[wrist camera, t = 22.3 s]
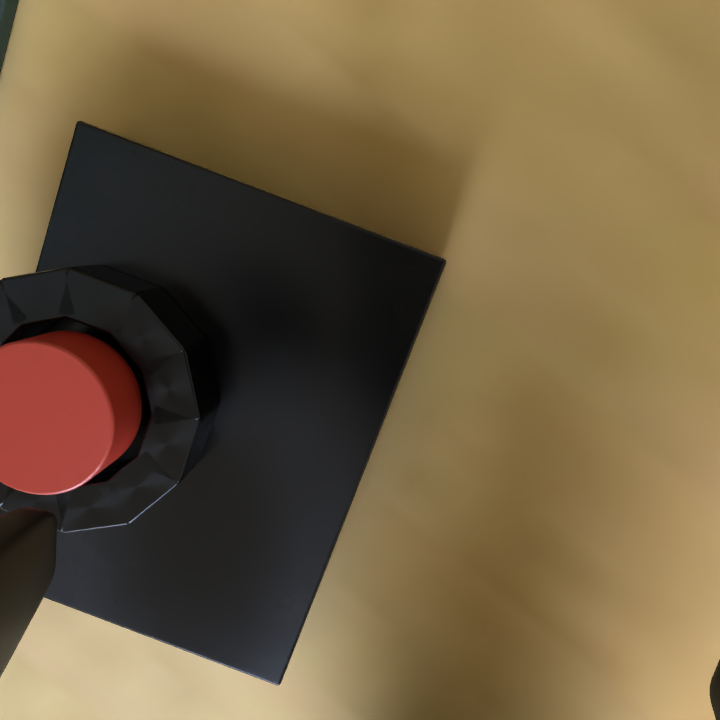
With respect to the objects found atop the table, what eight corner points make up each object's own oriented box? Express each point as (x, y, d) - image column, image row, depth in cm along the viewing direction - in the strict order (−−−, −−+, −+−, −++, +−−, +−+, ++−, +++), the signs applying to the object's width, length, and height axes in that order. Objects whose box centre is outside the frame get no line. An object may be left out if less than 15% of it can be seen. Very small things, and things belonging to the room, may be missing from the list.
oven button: (120, 490, 17) (89, 518, 16) (-13, 440, 17) (-59, 463, 16) (161, 360, 17) (133, 374, 15) (23, 308, 17) (-21, 316, 15)
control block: (291, 643, 22) (266, 732, 18) (-24, 524, 22) (-118, 586, 18) (443, 257, 19) (452, 262, 15) (87, 123, 19) (7, 93, 15)
